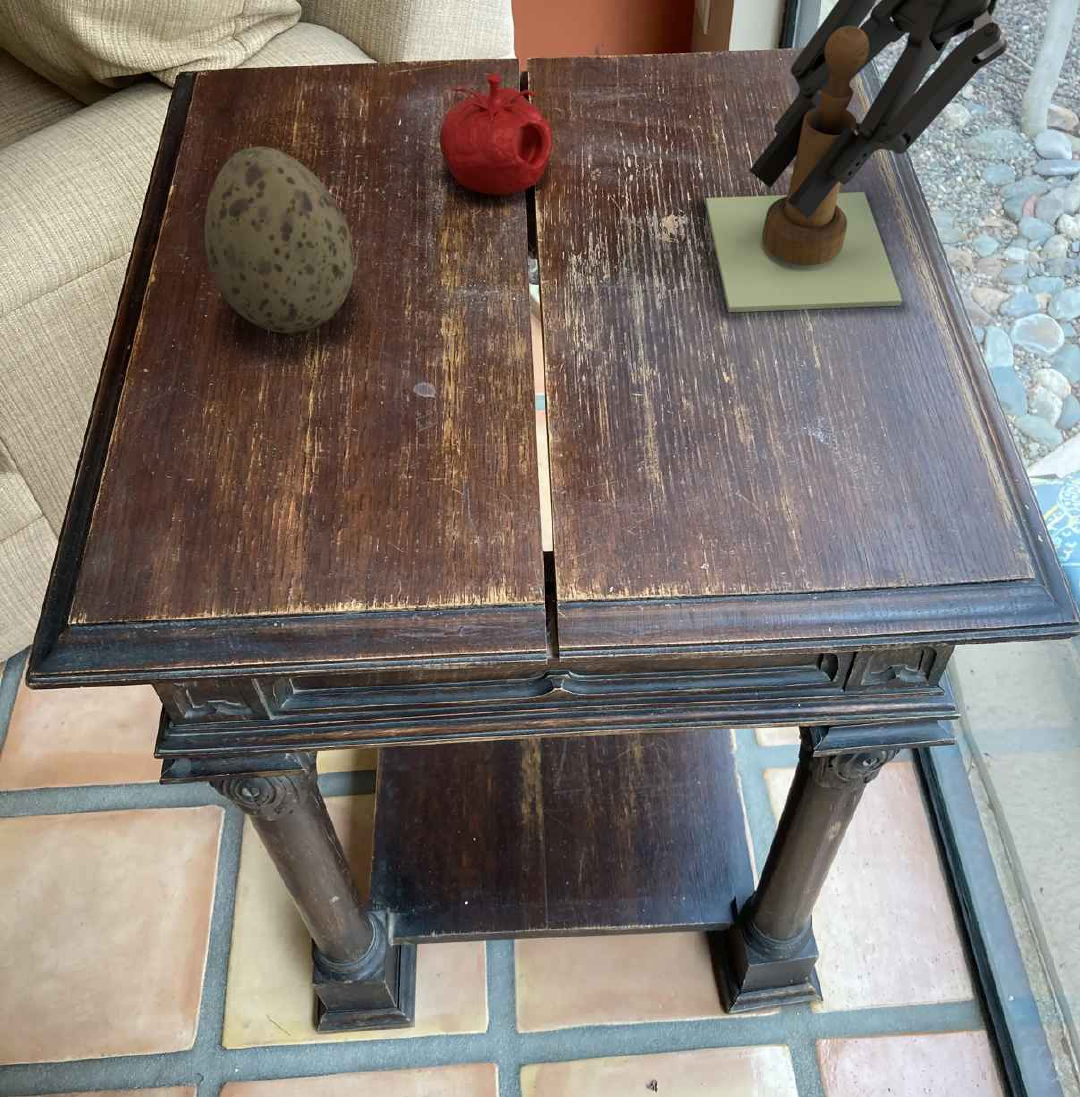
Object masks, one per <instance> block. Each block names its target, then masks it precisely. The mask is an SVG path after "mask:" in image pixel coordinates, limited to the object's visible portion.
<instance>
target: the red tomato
mask: <svg viewBox="0 0 1080 1097" xmlns="http://www.w3.org/2000/svg"><path fill="white" fill-rule="evenodd" d="M499 74H500V73H496V72H494V73H490V74H488V79H487V83H488V84H489V92H485V93H479V92H474V91H470V90H469V89H467V88H466V87H462V88H453V87H451V90H452V91H454V92H466V93H468V94H469V95H471V96H469V97H467V98H465V99H463V101H461V102H460V103H458V104H457V105H456V106H454V107H452V108H450V110H449V111H448V112H447V113H446V114H445V117H444V119H443V122H442V124H441V127H440V128H441V129H440V130H439V140H438V141H439V147H440V151H441V154H442V158H443V160H444V162H445V164H446V166H447V168H448V170H449V172H450V173H451V174H452V176H453V177H454V179H455V180H457V182H458V183H459V184H460V185H461V186H462V187H464V188H465V189H467V190H470V191H473V192H476V193H481V194H486V195H492V196H505V195H510V194H511V195H513V194H517V193H520V192H523V191H525V190H528V189H529V188H531V187H533V186H534V185H535V184H536V183H537V182H538V181H540V179H541V177H542V175H543V174H544V172H545V170H546V168H547V166H548V163H549V159H550V155H551V153H552V147H553V132H552V126H551V124H550V122H549V121H548V119H546V118H545V117H543V115H542V114H541V111H540V109H539V108H538V107H537V106H536V105H534V104H532V103H531V102H530V101H529V100H528V99H527V98H526V97H525V96H524V95H528V96H530V97H532V98H537V97H538V95H539V92H538V93H533V92H532V91H530V90H528V89H524V90H522V91H519V90H518V89H515V88H513V87H507V86H506V87H500V86H501V76H500V75H499Z"/></svg>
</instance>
